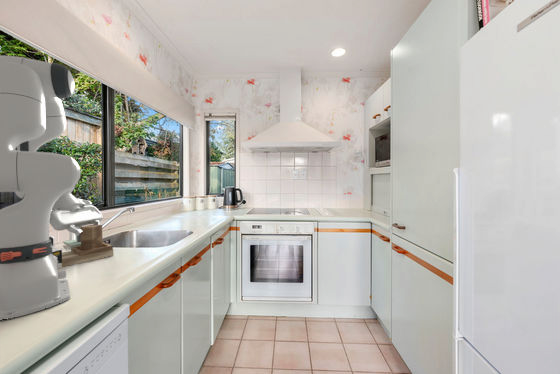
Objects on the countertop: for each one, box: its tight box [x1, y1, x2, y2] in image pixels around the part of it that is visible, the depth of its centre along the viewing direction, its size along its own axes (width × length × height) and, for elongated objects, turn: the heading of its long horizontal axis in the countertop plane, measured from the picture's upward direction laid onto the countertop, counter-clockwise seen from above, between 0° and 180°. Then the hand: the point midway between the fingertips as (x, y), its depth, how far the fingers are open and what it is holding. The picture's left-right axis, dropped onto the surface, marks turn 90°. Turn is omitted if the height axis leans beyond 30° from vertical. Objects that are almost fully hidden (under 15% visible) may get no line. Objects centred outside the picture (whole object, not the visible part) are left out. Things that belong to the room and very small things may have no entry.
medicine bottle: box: [49, 235, 63, 269], centre depth 88 cm, size 7×7×12 cm
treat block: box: [79, 224, 104, 251], centre depth 103 cm, size 5×5×10 cm
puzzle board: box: [62, 241, 114, 268], centre depth 100 cm, size 12×18×4 cm, turn 143°
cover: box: [63, 228, 81, 248], centre depth 109 cm, size 11×11×6 cm
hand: (90, 231), depth 103 cm, fingers open, 8 cm apart
